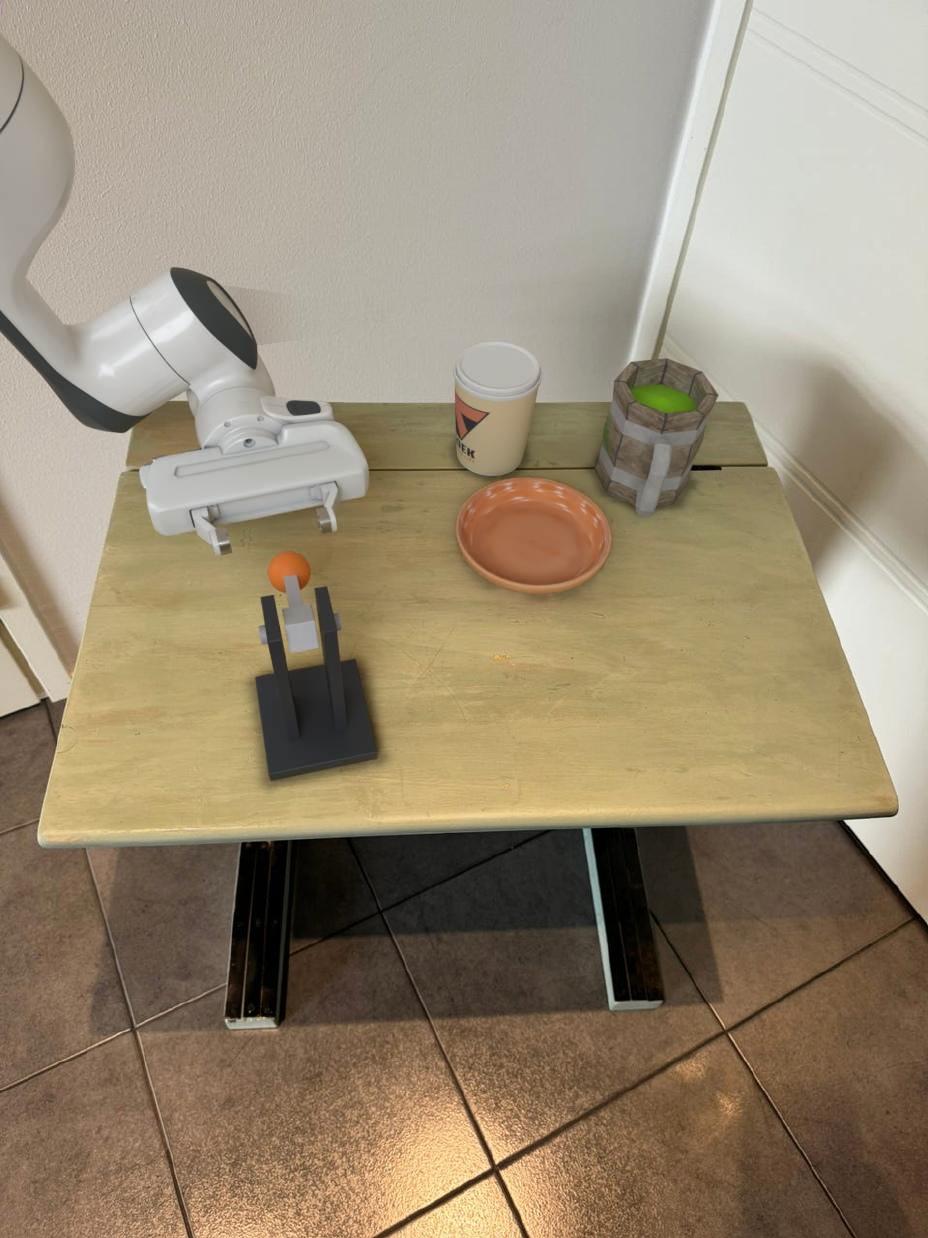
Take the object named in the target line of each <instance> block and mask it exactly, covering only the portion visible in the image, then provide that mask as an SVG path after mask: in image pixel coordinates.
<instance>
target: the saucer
mask: <svg viewBox="0 0 928 1238" xmlns="http://www.w3.org/2000/svg"><path fill="white" fill-rule="evenodd" d="M455 539H456V544H457V546H458V549H459V551H460V554H461V556H462V557H463V559H464V560H465V562H466V563H467V565H468V566H469V567H470V568H471V570H473V571H474V572H475V573H476V574H478V575H479V576H480V577H482V578H483V579H484V580H486V581H488V582H490V583H491V584H494V585H496V586H499V587H501V588H503V589H506V590H509V591H512V592H516V593H520V594H521V593H522V594H529V595H546V594H554V593H555V594H556V593H560V592H565V591H568V590H572V589H574V588H577V587H579V586H581V585H583V584H585V583H586V582H588V581H590V580H591V579H592V578H593V577H595V576H596V575H597V574H598V572H600V570H601V569H602V568H603V566H604V565H605V563H606V561H607V559H608V557H609V555H610V553H611V549H612V545H613V544H612V543H613V534H612V528H611V525H610V523H609V520H608V519H607V516H606V515H605V513H604V511H603V510H602V509H601V508H600V506H598V504H597V503H596V502H594V501H593V499H591V498H590V497H589V496H587V495H586V494H585V493H583V492H581V491H580V490H578V489H576V488H574V487H572V486H570V485H568V484H565V483H563V482H559V481H556V480H553V479H547V478H543V477H542V478H541V477H532V476H531V477H529V476H525V477H522V476H520V477H511V478H506V479H502V480H498V481H495V482H492V483H490V484H488V485H485V486H483V487H482V488H480V489H478V490H477V491H476V492H474V493H473V494H472V495H470V496H469V497H468V498H467V499H466V501H465V502H464V503H463V504H462V506H461V508H460V510H459V512H458V514H457V517H456V520H455Z"/></svg>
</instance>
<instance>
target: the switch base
mask: <svg viewBox="0 0 928 1238" xmlns="http://www.w3.org/2000/svg"><path fill="white" fill-rule="evenodd" d="M313 590H314V597H315V598H314V599H315V607H316V615H317V620H318V628H319V634H320V635H319V636H320V642H321V652H322V659H323V664H318V665H317V664H316V665H313V666H307V667H301V668H296V669H290V670H289V667H288V661H287V656H286V652H285V645H284V640H283V635H282V629H281V624H280V619H279V615H278V609H277V604H276V598H275V595H274V594H269V595H263V596H260V605H261V610H262V616H263V623H264V624H263V625H259V626H258V633H259V639H260V643H261V645H267V647H268V652H269V657H270V660H271V665H272V670H273V673H269V674H264V675H257V676H255V677H254V680H255V687H256V694H257V702H258V709H259V717H260V724H261V731H262V739H263V745H264V753H265V760H266V766H267V767H266V768H267V774H268V777H269V781H270V782H272V781H273V782H274V781H278V780H282V779H289V778H292V777H296V776H302V775H307V774H311V773H316V772H321V771H325V770H331V769H335V768H341V767H344V766H349V765H350V766H351V765H354V764H359V763H365V762H368V761H374V760H377V759H378V750H377V745H376V742H375V737H374V733H373V729H372V724H371V719H370V715H369V711H368V707H367V702H366V699H365V694H364V689H363V686H362V682H361V677H360V672H359V668H358V664H357V660H356V658H351V659H345V660H341V654H340V645H339V635H338V632H342V630H343V628H342V620H341V615H340V612H334V609H333V606H332V601H331V596H330V592H329V587H328V585H323V586H318V587H314V588H313Z"/></svg>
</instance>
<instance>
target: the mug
mask: <svg viewBox="0 0 928 1238" xmlns="http://www.w3.org/2000/svg"><path fill="white" fill-rule="evenodd" d="M612 390H613V391H612V399H611V403H610V406H609V407H610V408H609V411H608V415H607V418H606V419H605V422H604V426H603V431H602V441H601V447H600V450H599V454H598V458H597V461H596V462H595V466H594V468H593V470H594V472H595V474H596V476H597V478H598V480H599V482H600V484H601V486H602V488H603V490H604V492H605V494H606V495H609V496H611V497H613V498H615V499H618V500H620V501H622V502H624V503H627V504H629V505H631V506H634V507H635V512H636V514H637V516H639V517H642V518H650V517H651V516H652V515H653V514H654V512H655V510H656V508H657V507H659V506H667V505H673V504H675V503H676V502H677V500H678V499H679V498H680V496H681V494H682V493H683V491H684V490H685V488H686V487H687V486H688V484H689V481H690V475H691V470H692V467H693V464H694V461H695V458H696V456H697V454H698V452H699V449H700V447H701V445H702V444H703V440H704V436H705V432H706V428H707V424H708V421H709V418H710V415H711V412H712V409H713V407H714V406H715V404H716V402H717V401H718V398H719V393H718V392H717V390H716V389H715V388H714V386H713V385H712V383H711V381H710V380H709V379H708V377H707V376H706V374H705V373H704V372H703V371H702V370H699V369H696V368H693V367H692V366H688V365H686V364H682V363H681V362H678V361H676V360H672V359H670V358H667V357H666V358H656V359H644V360H636V361H635V360H634V361H630V362H629V363H628V364H627V365H626V366H625V367H624V369H623V370H622V371H621V372H620V374H618V375H617V376H616V378H615V379H614V380H613V389H612Z"/></svg>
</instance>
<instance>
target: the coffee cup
mask: <svg viewBox="0 0 928 1238" xmlns="http://www.w3.org/2000/svg"><path fill="white" fill-rule="evenodd" d="M452 370H453V378H454V414H455V415H454V416H455V419H454V420H455V446H456V447H455V449H456V456H457V459H458V461H459V463H460V464H461V465H462V466H463V467H464V468H465V469H466V470H468V471H470V472H472V473H475V474H476V475H479V476H480V475H481V476H485V477H500V476H503V475H504V476H505V475H508V474H510V473H512V472H513V471H515V470H516V469H517V468H518V467H519V466H520V465H521V463H522V461H523V459H524V455H525V451H526V445H527V442H528V438H529V433H530V429H531V425H532V420H533V416H534V412H535V407H536V402H537V396H538V392H539V387H540V385H541V383H542V380H543V379H542V378H543V371H542V367H541V365H540V362H539V361H538V359H537V357H536V356H535V355H534V354H533V353H532V352H530V351H529V350H528V349H526V348H524V347H522V346H520V345H518V344H515V343H511V342H507V341H498V340H491V341H483V342H478V343H474V344H472V345H470V346H468V347H466V348H464V350H462V351H461V352H460V353H459V354H458V357H457V358H456V360H455V361H454V364H453V369H452Z"/></svg>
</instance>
